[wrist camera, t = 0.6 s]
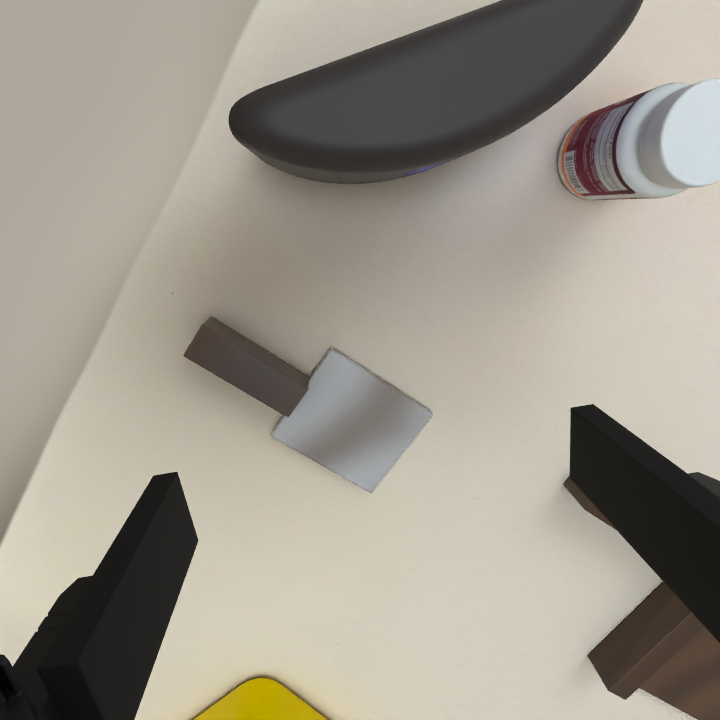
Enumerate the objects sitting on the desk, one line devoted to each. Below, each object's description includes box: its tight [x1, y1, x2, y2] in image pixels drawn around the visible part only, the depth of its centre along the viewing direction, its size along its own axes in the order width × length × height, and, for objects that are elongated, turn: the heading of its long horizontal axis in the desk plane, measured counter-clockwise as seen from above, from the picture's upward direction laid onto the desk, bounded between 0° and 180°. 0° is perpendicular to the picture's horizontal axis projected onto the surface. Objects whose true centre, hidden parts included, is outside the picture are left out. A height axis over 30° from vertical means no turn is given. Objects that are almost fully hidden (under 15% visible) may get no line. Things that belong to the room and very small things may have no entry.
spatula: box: [184, 317, 433, 493], centre depth 29 cm, size 15×7×2 cm, turn 55°
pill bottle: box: [558, 78, 720, 200], centre depth 23 cm, size 5×5×8 cm
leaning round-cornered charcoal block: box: [229, 0, 643, 184], centre depth 21 cm, size 16×5×9 cm, turn 108°
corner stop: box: [563, 477, 720, 720], centre depth 37 cm, size 32×13×3 cm, turn 55°
